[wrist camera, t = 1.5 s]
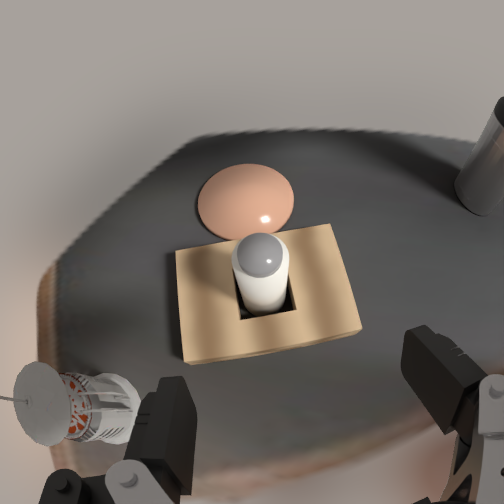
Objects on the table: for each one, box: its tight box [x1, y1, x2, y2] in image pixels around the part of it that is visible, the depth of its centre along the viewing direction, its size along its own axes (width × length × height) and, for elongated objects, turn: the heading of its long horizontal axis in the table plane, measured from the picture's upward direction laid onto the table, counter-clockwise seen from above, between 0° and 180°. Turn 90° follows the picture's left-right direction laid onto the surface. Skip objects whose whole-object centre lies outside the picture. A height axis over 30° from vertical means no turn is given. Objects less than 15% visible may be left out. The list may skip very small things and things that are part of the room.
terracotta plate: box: [198, 164, 294, 241], centre depth 43 cm, size 14×14×1 cm
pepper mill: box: [232, 233, 289, 317], centre depth 31 cm, size 5×5×12 cm
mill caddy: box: [176, 224, 362, 365], centre depth 35 cm, size 20×14×3 cm
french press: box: [0, 362, 141, 446], centre depth 20 cm, size 10×12×25 cm
